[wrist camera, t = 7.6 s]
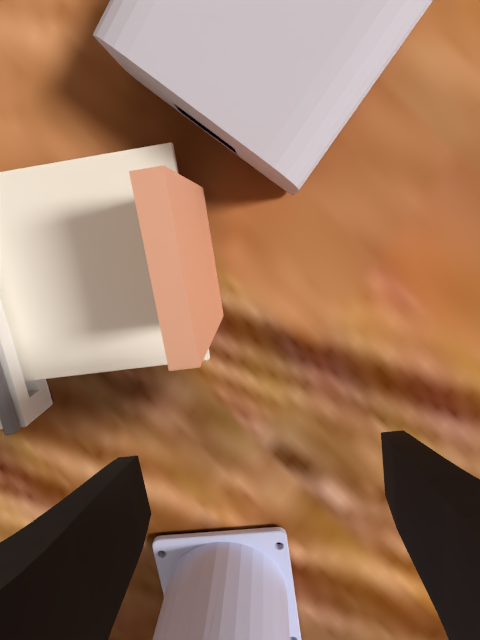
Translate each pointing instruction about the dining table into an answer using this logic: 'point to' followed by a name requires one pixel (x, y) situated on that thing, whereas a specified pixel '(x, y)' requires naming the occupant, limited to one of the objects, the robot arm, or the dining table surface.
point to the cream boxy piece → (107, 265)
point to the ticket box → (17, 387)
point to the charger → (261, 67)
